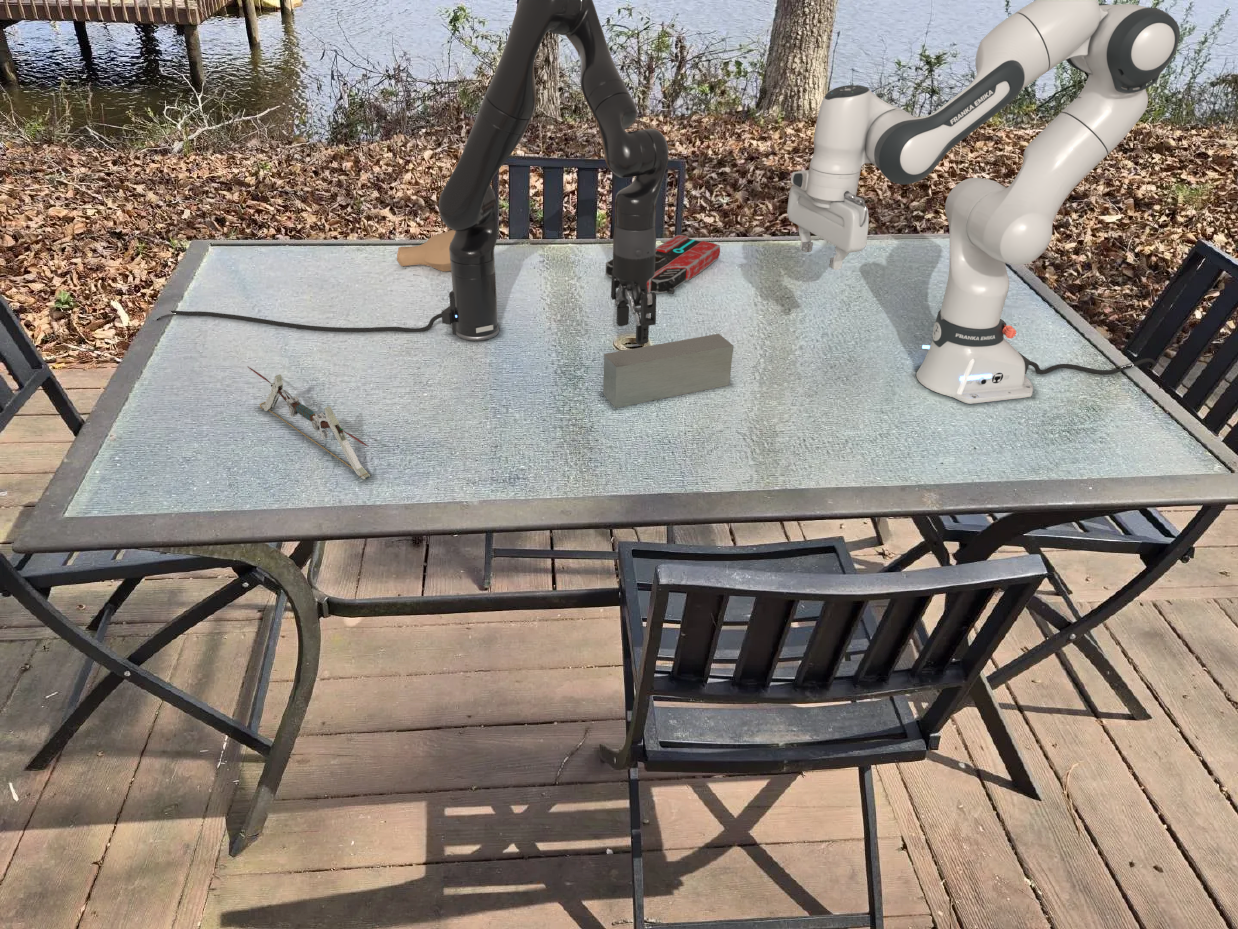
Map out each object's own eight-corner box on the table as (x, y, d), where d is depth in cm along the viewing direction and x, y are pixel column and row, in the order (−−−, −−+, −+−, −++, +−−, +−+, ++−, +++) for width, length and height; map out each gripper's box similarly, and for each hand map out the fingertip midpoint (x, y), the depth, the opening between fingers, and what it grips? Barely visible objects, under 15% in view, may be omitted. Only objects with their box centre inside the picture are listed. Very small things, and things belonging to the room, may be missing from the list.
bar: (615, 408, 167) (616, 367, 162) (603, 394, 171) (603, 353, 166) (729, 385, 175) (733, 345, 171) (715, 372, 180) (718, 333, 175)
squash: (475, 275, 220) (467, 243, 214) (398, 282, 222) (387, 251, 216) (480, 253, 228) (473, 221, 222) (405, 260, 230) (396, 229, 224)
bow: (380, 482, 144) (372, 430, 139) (371, 487, 143) (362, 435, 137) (261, 400, 165) (250, 352, 160) (252, 403, 164) (240, 355, 159)
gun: (600, 263, 216) (668, 282, 208) (660, 227, 238) (724, 243, 230) (599, 280, 219) (667, 299, 211) (659, 243, 241) (723, 259, 233)
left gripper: (671, 260, 150) (667, 346, 159) (636, 234, 161) (634, 316, 170) (632, 266, 147) (629, 353, 156) (598, 239, 158) (598, 322, 167)
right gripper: (883, 199, 149) (868, 277, 156) (814, 168, 164) (803, 240, 172) (853, 203, 146) (839, 281, 154) (786, 171, 162) (776, 243, 169)
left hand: (632, 333), depth 163 cm, fingers open, 8 cm apart
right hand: (820, 259), depth 163 cm, fingers open, 8 cm apart
